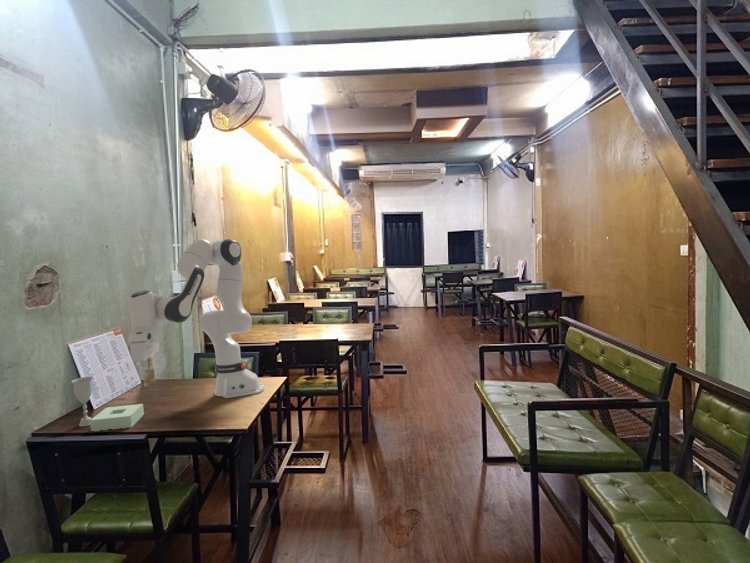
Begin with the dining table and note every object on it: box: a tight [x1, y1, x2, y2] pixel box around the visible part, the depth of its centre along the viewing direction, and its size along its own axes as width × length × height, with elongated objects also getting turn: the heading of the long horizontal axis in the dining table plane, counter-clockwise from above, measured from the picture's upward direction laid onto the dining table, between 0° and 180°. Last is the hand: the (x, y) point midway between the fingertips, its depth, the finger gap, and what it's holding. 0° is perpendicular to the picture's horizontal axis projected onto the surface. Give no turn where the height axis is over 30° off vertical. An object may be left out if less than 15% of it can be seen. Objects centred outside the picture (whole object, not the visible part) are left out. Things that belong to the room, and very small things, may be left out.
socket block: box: [90, 403, 145, 432], centre depth 170 cm, size 14×14×4 cm
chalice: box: [71, 376, 93, 427], centre depth 171 cm, size 7×7×18 cm
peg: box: [141, 351, 157, 388], centre depth 167 cm, size 4×4×13 cm
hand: (148, 368), depth 167 cm, fingers closed on peg, 4 cm apart
